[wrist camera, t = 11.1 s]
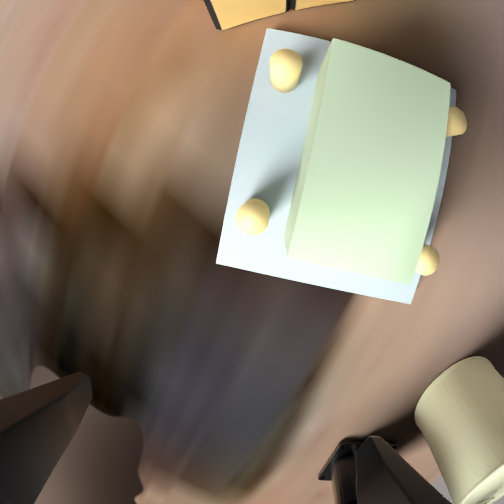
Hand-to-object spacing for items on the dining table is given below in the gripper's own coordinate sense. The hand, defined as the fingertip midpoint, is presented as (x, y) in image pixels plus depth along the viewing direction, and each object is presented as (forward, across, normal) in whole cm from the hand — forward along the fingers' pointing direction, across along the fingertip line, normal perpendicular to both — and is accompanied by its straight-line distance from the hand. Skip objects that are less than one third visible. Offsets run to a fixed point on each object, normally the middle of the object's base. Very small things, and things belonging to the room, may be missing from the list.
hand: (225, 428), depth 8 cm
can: (+12, -21, +7) cm, 25 cm away
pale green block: (+11, -4, -9) cm, 15 cm away
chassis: (+12, -4, -9) cm, 16 cm away
